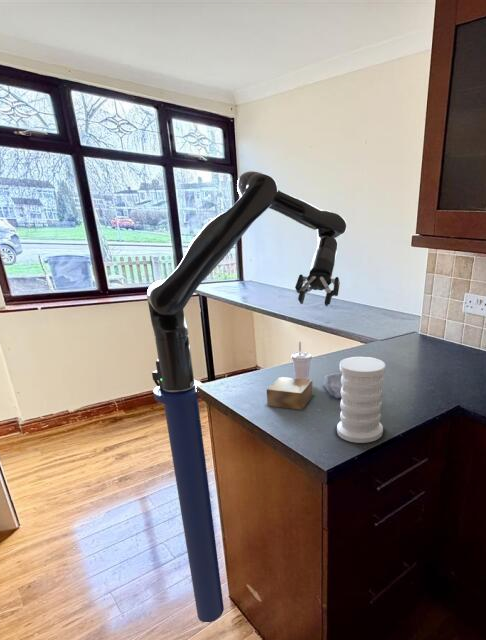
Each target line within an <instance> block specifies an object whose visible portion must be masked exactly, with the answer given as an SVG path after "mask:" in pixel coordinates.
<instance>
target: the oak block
mask: <svg viewBox="0 0 486 640" xmlns="http://www.w3.org/2000/svg"><path fill="white" fill-rule="evenodd" d="M312 397H313V379H308V380H305V379H295V377H286V376H285V377H284V376H279V377H278V378H277V379H276V380H275V381H274V382H273V383H272V384H271V385H270V386H268V387H267V388H266V401H267V405H266V406H267V407H277V408H282V409H283V408H284V409H292V410H300V411H301V410H303V409H304V407H306V405H307V404H308V402H309V401H310V400H311V398H312Z"/></svg>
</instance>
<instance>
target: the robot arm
mask: <svg viewBox="0 0 486 640" xmlns="http://www.w3.org/2000/svg"><path fill="white" fill-rule="evenodd" d="M236 185H237V187H236V188H237V192H238V194H239V196H240V197H239V198H238V200H237V201H236V202H235V203H234V204H233V205H232V206H231V207H229V208H228V209H226V210H225V211H224V212H222V213H220V214H219V215H217V216H216V217H214V218H213V219H211V220H209V222H207V223H206V224H205V225H204V226H203V227H202V229H201V230H200V231H199V232H198V233H197V235H196V236H195V237H194V238H193V239H192V240H191V242H190V244H189V246H188V248H187V249H186V252H185V254H184V256H183V257H182V259H181V261H180V263H179V264H178V266H177V267H176V268H175V270H174V271H173V272H171V274H169V276H168V277H167V278H166V279H163V280H161V279H160V280H157V281H155V282H153V283H152V284H151V285H150V286H149V287H148V289H147V293H146V296H147V297H146V298H147V304H148V310H149V317H150V323H151V326H152V330H153V335H154V341H155V348H156V354H157V360H156V361H155V368H156V370H154V371H151V375H152V381H153V382H154V384H155V385H156V387H157V386H158V387H159V386H160V390H163V391H164V392H166V393H170V394H178V393H185V392H188V391H191V390H193V389H194V388H195V382H194V380H195V378H194V368H193V361H192V354H191V353H192V352H191V344H190V337H189V329H188V325H187V322H186V317H185V312H184V309H185V307H186V306H187V304H188V303H189V301H190V299H191V298H192V297H193V295H194V294H195V293H196V291H197V289H198V288H199V286H200V285H201V284H202V282H203V281H204V280H206V278H207V277H208V276H209V275H210V274H211V273H212V272H213V271H214V270H215V269H216V267H217V266H218V265H219V264H220V263H221V262H222V261H223V260H224V258H226V256H227V255H228V254H229V253H230V251H232V249H233V248H234V246H235V245H236V244H237V243H238V242H239V240H240V239H241V238H242V237H243V235H245V233H246V232H247V231H248V229H249V228H250V227H251V226H252V225H253V224H254V223H255V222H256V221H257V220H258V219H259V218H260V217H261V216H262V215H263V214H264V213H265V212H266V211H267V210H268V209H270V210H273V211H274V212H277V213H279V214H282V215H283V216H285V217H287V218H289V219H291V220H293V221H294V222H296V223H298V224H300V225H302V226H304V227H306V228H309V229H311V230H314V231H317V232H316V233H317V245H316V249H315V252H314V254H313V257H312V262H311V265H310V269H309V273H308V276H304V275H303V274H299V276H298V278H297V282H296V283H295V287H294V288H295V291H296V293H297V294H298V296H297V299H298V302H299V304H300V305H303V304H304V301H305V297H306V294H307V293H310V292H311V291H325V293H326V294H325V299H324V306H325V307H328V306H329V305H330V304H331V301H332V298H333V297H334V296H335V297H338V296H339V292H340V291H339V290H340V285H341V283H340V278H339V277H338V276H336V277H335V278H332V277H333V273H334V269H335V265H336V257H337V253H338V246H339V244H338V240H337V239H336V238H338V237H340V236H342V235H343V234H344V233H345V232H346V231H347V229H348V228H347V227H348V226H347V222H346V219H345V218H344V217H343V216H342V215H340V214H339V213H336V212H333V211H330V210H325V209H319V208H318V207H316V206H314V205H313V204H311V203H308V202H306V201H305V200H303V199H300V198H298V197H295V196H293V195H290V194H287V193H286V192H284V191H282V190H279V189H278V184H277V181H276V179H274V178H273V177H272V176H270V175H269V174H267V173H263V172H259V171H255V170H250V171H249V170H248V171H246V172H244V173H242V174H241V175H240V176H239V178H238V180H237V184H236ZM331 284H332V285H333V289H332V290H331V288H330V285H331Z"/></svg>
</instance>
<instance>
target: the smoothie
mask: <svg viewBox="0 0 486 640" xmlns="http://www.w3.org/2000/svg"><path fill="white" fill-rule="evenodd" d="M312 355H313V354H311V353H309V352H304V351H302V342H301V341H299V342H298V352H294V353H292V354H291V355H290V359H291V360H292V361H291V362H292V366H293V367H292V368H293V374H294V378H295V379H305V380H309V376H310V369H311V368H310V367H311V361H312V358H313V356H312Z"/></svg>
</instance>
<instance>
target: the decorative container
mask: <svg viewBox="0 0 486 640" xmlns="http://www.w3.org/2000/svg"><path fill="white" fill-rule="evenodd" d="M386 366H387V365H386V362H385V361H384V360H381V359H378V358H375V357H372V356H371V357H370V356H350V357H346V358H343V359H341V360H340V361H339V370H340V372H341V374H342V376H341V383H342V388H341V391H340V392H341V396H342V399H340V402H339V406H340V409H341V411H340V414H339V419H340V421H339V422H338V423H337V425H336V433H337V435H338V437H340V438H341V439H343V440H345V441H347V442H350V443H357V444H365V443H366V444H367V443H371V442H375V441H377V440H379V439H380V438H382V436H383V433H384V426H383V424H382V423H381V422H380V421H381V418H382V414H381V409H382V406H383V405H382V400H381V399H382V398H383V397H382V396H383V389H382V386H383V384H384V379H383V378H384V377H383V374H384V373H385V372H386V369H387V368H386Z"/></svg>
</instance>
